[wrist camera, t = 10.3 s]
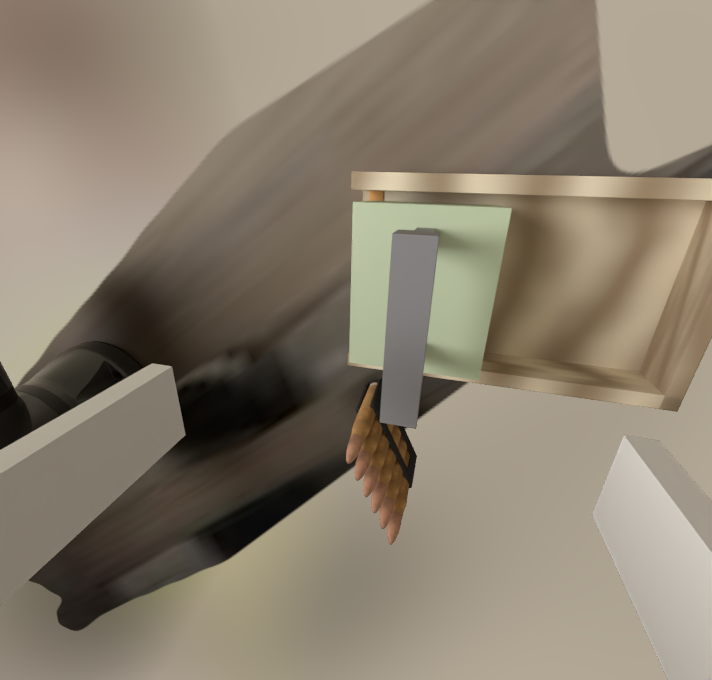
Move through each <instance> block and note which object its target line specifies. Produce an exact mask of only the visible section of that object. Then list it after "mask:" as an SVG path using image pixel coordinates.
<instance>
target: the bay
mask: <svg viewBox="0 0 712 680" xmlns="http://www.w3.org/2000/svg"><path fill="white" fill-rule="evenodd" d="M351 189H354V190H363V201H398V202H425V203H452V204H479V205H499V206H504V207H509V208H512V210H511V216H510V221H509V226H508V231H507V237H506V242H505V247H504V252H503V257H502V263H501V268H500V273H499V278H498V283H497V289H496V294H495V299H494V304H493V310H492V315H491V320H490V325H489V330H488V336H487V341H486V346H485V351H484V356H483V362H482V367H481V372H480V377H479V380H472V379H465V378H457V377H450V376H443V375H436V374H429V373H423V376H429V377H436V378H443V379H450V380H458V381H465V382H472V383H479V384H486V385H493V386H501V387H507V388H514V389H522V390H529V391H535V392H543V393H550V394H556V395H564V396H571V397H578V398H585V399H592V400H599V401H607V402H614V403H620V404H627V405H634V406H642V407H648V408H655V409H663V410H670V411H678V409H679V407H680V405H681V402H682V400H683V398H684V396H685V394H686V392H687V390H688V387H689V385H690V383H691V381H692V379H693V377H694V374H695V372H696V370H697V368H698V366H699V363H700V362H701V360H702V357H703V355H704V353H705V351H706V349H707V346H708V344H709V342H710V340H711V338H712V179H702V178H651V177H600V176H549V175H498V174H447V173H396V172H352V178H351ZM347 365H352V366H359V367H366V368H373V369H380V370H383V367H379V366H372V365H364V364H357V363H350V362H349V352H348V356H347Z"/></svg>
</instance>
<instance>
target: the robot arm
mask: <svg viewBox="0 0 712 680" xmlns="http://www.w3.org/2000/svg"><path fill="white" fill-rule="evenodd" d="M184 436H185V430H184V425H183V420H182V415H181V409H180V404H179V399H178V394H177V389H176V384H175V379H174V374H173V369H172V366H166V365H160V364H153V363H152V364H150V365H148V366H146V367H145V368H143V369H142V368H141V367H140V366H139V365H138V364H137V363H136V362H135V361H134V360H133V359H132V358H131V357H130V356H128V355H127V354H126V353H124V352H123V351H121V350H119V349H118V348H116V347H113V346H111V345H108V344H105V343H101V342H85V343H82V344H80V345H77V346H75V347H72V348H70V349H67V350H66V351H64V352H62V353H61V354H60V355H58V356H57V357H56V358H55V359H54V360H53V361H51V362H50V363H49V364H48V365H47V366H45V367H44V368H43V369H42V370H41V371H40V372H38V373H37V374H36V375H35V376H34V377H33V378H31V379H30V380H29V381H28V382H26V383H25V384H23V385H21V386H19V387H16V388H14V387H13V385H12V383H11V381H10V379H9V377H8V375H7V373H6V371H5V370H4V368H3V366H2V364H1V362H0V606H1V605H2V604H3V603H4V602H5V601H6V600H7V599H8V598H9V597H10V596H11V595H12V594H13V593H15V592H16V591H17V590H18V589H19V588H20V587H21V586H22V585H23V584H24V583H25V582H27V581H28V580H29V579H30V578H31V577H32V576H33V575H34V574H35V573H36V572H37V571H38V570H40V569H41V568H42V567H43V566H44V565H45V564H46V563H47V562H48V561H49V560H50V559H52V558H53V557H54V556H55V555H56V554H57V553H58V552H59V551H60V550H61V549H62V548H63V547H65V546H66V545H67V544H68V543H69V542H70V541H71V540H72V539H73V538H74V537H75V536H76V535H78V534H79V533H80V532H81V531H82V530H83V529H84V528H85V527H86V526H87V525H88V524H89V523H91V522H92V521H93V520H94V519H95V518H96V517H97V516H98V515H99V514H100V513H101V512H103V511H104V510H105V509H106V508H107V507H108V506H109V505H110V504H111V503H112V502H113V501H114V500H116V499H117V498H118V497H119V496H120V495H121V494H122V493H123V492H124V491H125V490H126V489H127V488H129V487H130V486H131V485H132V484H133V483H134V482H135V481H136V480H137V479H138V478H139V477H140V476H142V475H143V474H144V473H145V472H146V471H147V470H148V469H149V468H150V467H151V466H152V465H154V464H155V463H156V462H157V461H158V460H159V459H160V458H161V457H162V456H163V455H164V454H165V453H167V452H168V451H169V450H170V449H171V448H172V447H173V446H174V445H175V444H176V443H177V442H178V441H180V440H181V439H182V438H183V437H184ZM592 516H593V518H594V520H595V523H596V525H597V527H598V529H599V531H600V533H601V536H602V538H603V540H604V542H605V544H606V546H607V549H608V551H609V553H610V555H611V557H612V560H613V562H614V564H615V566H616V568H617V570H618V573H619V575H620V577H621V579H622V581H623V583H624V586H625V588H626V590H627V592H628V594H629V596H630V599H631V601H632V603H633V605H634V607H635V609H636V612H637V613H638V616H639V618H640V620H641V623H642V625H643V627H644V629H645V631H646V633H647V636H648V638H649V640H650V642H651V644H652V646H653V649H654V651H655V653H656V655H657V657H658V660H659V662H660V664H661V666H662V668H663V670H664V673H665V675H666V677H667V679H668V680H712V501H711V500H710V498H709V497H708V496H707V495H706V494H705V493H704V492H703V490H702V489H701V488H700V487H699V486H698V485H697V484H696V482H695V481H694V480H693V479H692V478H691V477H690V475H689V474H688V473H687V472H686V471H685V470H684V469H683V468H682V466H681V465H680V464H679V463H678V462H677V461H676V460H675V458H674V457H673V456H672V455H671V454H670V453H669V451H668V450H667V449H666V448H665V447H664V446H663V445H662V444H661V442H660V441H659V440H652V439H646V438H639V437H632V436H626V435H624V437H623V439H622V441H621V444H620V446H619V449H618V451H617V454H616V456H615V459H614V461H613V464H612V466H611V469H610V471H609V474H608V476H607V478H606V481H605V483H604V486H603V488H602V491H601V494H600V496H599V498H598V501H597V503H596V506H595V508H594V511H593V513H592Z"/></svg>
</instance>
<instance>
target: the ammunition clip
mask: <svg viewBox="0 0 712 680" xmlns="http://www.w3.org/2000/svg"><path fill="white" fill-rule="evenodd" d="M381 392H382V380H381V379H378V380H375V381H371V382H368V383H366V385H365V388H364V391H363V393H362V396H361V398H360V401H359V404H358V406H357V409H356V411H357V413H358V414H357V417H356V419H355V422H354V424H353V427H352V434H351V437H350V440H349V443H348V446H347V451H346V461H347V463H348V464H349V463H351V462H352V461H353V460H354V459H355V458H356V457H357V455H358V457H357V460H356V465H355V478H356V480H357V481H358V480H360V479H361V478H362V477H363V475H364V474H365V477H364V484H363V491H364V495H365V497H368V496H369V495H370V494H371V492H372V511H373V513H376V512H377V511H378V510H379V508H380V525H381V528H382V529H384V528H385V527H386V526H387V524H388V528H387V530H388V532H387V533H388V540H389V543H390V544H392V543H393V542H394V541H395V539H396V537H397V535H398V532H399V529H400V525H401V520H402V516H403V512H404V509H405V507H406V502H407V495H408V489H409V488H411V487H412V482H413V476H414V469H415V463H416V457H417V455H416V453H415V451H414V449H413V447H412V444H411V442H410V440H409V438H408V436H407V433H406V431H405V429H404V427H403V426H398V425H392V424H386V423H380V407H381Z"/></svg>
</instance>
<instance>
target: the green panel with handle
mask: <svg viewBox="0 0 712 680" xmlns="http://www.w3.org/2000/svg"><path fill="white" fill-rule="evenodd" d="M511 210H512V208H509V207H504V206H499V205H479V204H452V203H425V202H398V201H361V202H353V223H352V264H351V304H350V345H349V362H350V363H357V364H364V365H372V366H379V367H383V378H382V392H381V407H380V423H386V424H392V425H398V426H403V427H409V428H415V429H416V426H417V419H418V412H419V404H420V396H421V387H422V379H423V373H429V374H436V375H443V376H450V377H457V378H465V379H472V380H479V377H480V372H481V367H482V362H483V356H484V351H485V346H486V341H487V336H488V330H489V325H490V320H491V315H492V310H493V304H494V299H495V294H496V289H497V283H498V278H499V273H500V268H501V263H502V257H503V252H504V247H505V242H506V237H507V231H508V226H509V221H510V216H511Z"/></svg>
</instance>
